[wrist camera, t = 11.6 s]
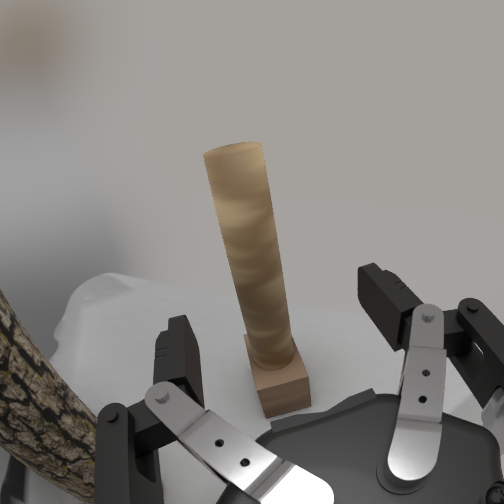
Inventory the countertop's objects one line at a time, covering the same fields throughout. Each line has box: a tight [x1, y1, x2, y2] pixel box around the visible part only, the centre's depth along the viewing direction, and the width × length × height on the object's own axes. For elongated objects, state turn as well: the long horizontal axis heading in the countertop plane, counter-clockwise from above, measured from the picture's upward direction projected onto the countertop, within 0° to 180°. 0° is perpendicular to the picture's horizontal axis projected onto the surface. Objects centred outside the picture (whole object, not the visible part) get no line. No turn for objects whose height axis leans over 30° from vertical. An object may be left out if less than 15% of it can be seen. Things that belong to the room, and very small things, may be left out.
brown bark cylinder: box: [0, 290, 97, 504], centre depth 14 cm, size 7×7×25 cm
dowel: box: [203, 142, 294, 370], centre depth 23 cm, size 4×4×18 cm
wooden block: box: [244, 334, 311, 418], centre depth 28 cm, size 7×4×5 cm, turn 10°
